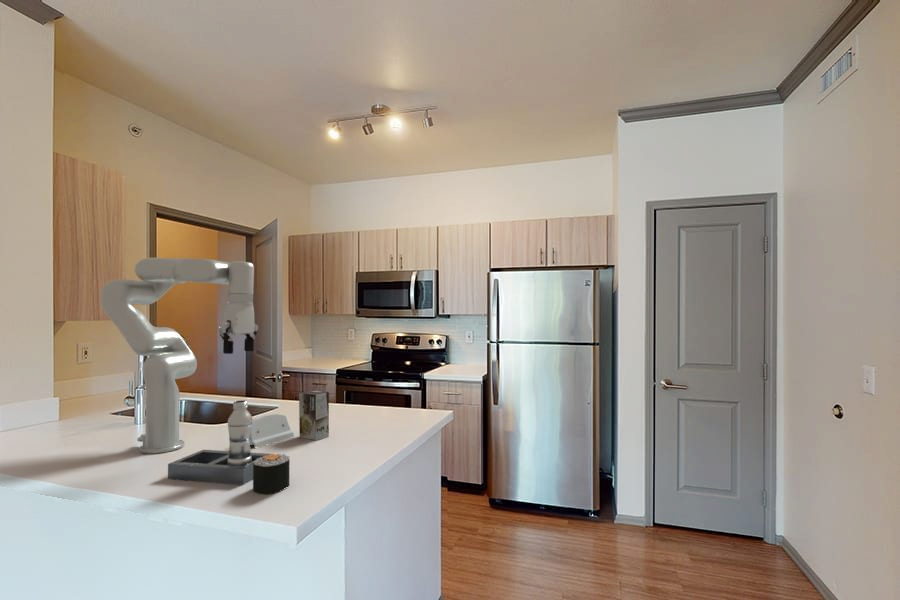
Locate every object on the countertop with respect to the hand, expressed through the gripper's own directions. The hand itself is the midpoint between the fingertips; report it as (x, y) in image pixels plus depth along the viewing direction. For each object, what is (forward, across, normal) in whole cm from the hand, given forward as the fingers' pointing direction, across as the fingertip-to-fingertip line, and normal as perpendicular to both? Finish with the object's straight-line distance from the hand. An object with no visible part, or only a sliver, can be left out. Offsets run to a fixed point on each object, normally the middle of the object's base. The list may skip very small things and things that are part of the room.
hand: (238, 352), depth 146 cm
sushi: (+32, +24, +30) cm, 50 cm away
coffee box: (+32, -21, +16) cm, 41 cm away
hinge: (+32, -13, +3) cm, 35 cm away
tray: (+32, +18, +10) cm, 38 cm away
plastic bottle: (+32, +17, +15) cm, 39 cm away
